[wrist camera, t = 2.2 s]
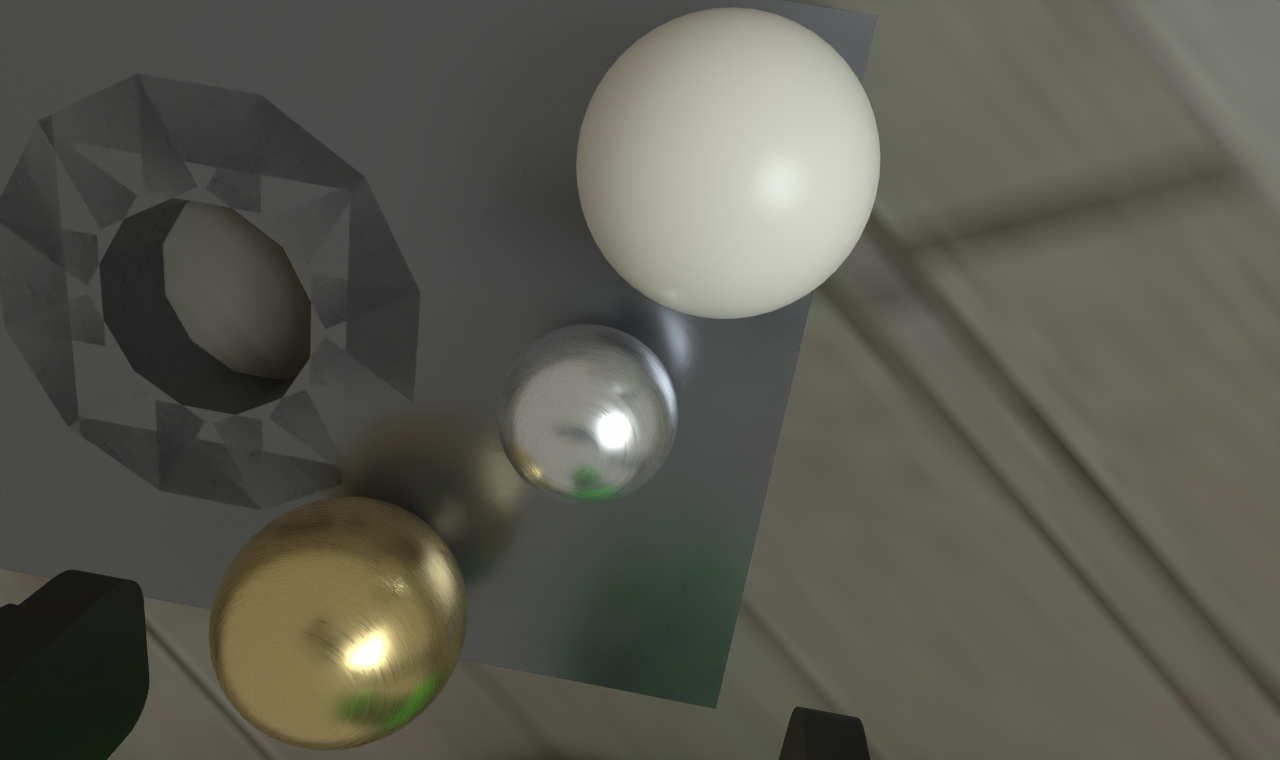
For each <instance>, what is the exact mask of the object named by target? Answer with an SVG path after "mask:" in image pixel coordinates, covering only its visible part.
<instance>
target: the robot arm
mask: <svg viewBox="0 0 1280 760" xmlns="http://www.w3.org/2000/svg"><path fill="white" fill-rule="evenodd" d="M148 690H149V667H148V654H147V640H146V627H145V613H144V600H143V593H142V590H141V587H140V586H139V584H138V583H137V582H135V581H133V580H128V579H123V578H117V577H112V576H107V575H101V574H96V573H91V572H85V571H80V570H67V571H64V572H62V573H60V574H58V575H57V576H55V577H54V578H53V579H51V580H50V581H49V582H48V583H46V584H45V585H44V586H42V587H41V588H40V589H39V590H37V591H36V592H35V593H33V594H32V595H31V596H30V597H28V598H27V599H26V600H25V601H23V602H22V603H21V604H19V605H15V604H10V603H9V604H7V605H5V606H3V607H0V760H107V759H108V758H109V756H110V755H111V754H112V753H113V752H114V751H115V750H116V748H117V747H118V746H119V745H120V744H121V743H122V742H123V740H124V739H125V738H126V737H127V736H128V734H129V733H130V732H131V730H132V729H133V727H134V726H135V724H136V722H137V721H138V719H139V717H140V715H141V713H142V710H143V708H144V705H145V702H146V699H147V695H148ZM779 760H870V757H869V752H868V747H867V742H866V737H865V732H864V728H863V725H862V722H861V720H860V719H859V718H857V717H852V716H846V715H841V714H835V713H830V712H825V711H819V710H814V709H809V708H803V707H796V708H795V709H794V710H793V713H792V715H791V718H790V721H789V725H788V728H787V732H786V736H785V739H784V743H783V747H782V750H781V754H780V757H779Z"/></svg>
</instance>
